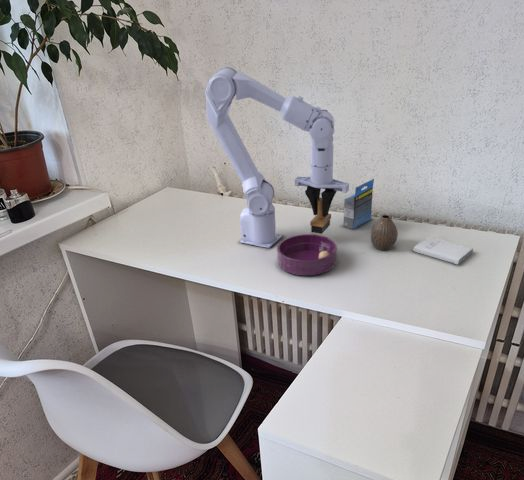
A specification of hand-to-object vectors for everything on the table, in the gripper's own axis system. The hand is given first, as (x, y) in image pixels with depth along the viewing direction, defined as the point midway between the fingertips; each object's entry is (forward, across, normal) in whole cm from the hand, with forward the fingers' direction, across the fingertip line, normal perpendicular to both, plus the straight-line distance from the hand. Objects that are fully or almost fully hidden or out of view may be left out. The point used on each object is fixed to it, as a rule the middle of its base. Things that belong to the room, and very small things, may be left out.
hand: (321, 214), depth 137 cm
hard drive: (+8, -32, -6) cm, 34 cm away
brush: (+4, 0, 0) cm, 4 cm away
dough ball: (+6, -6, +12) cm, 15 cm away
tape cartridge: (+8, -5, -15) cm, 18 cm away
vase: (+8, -17, -3) cm, 19 cm away
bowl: (+8, -2, +13) cm, 15 cm away
